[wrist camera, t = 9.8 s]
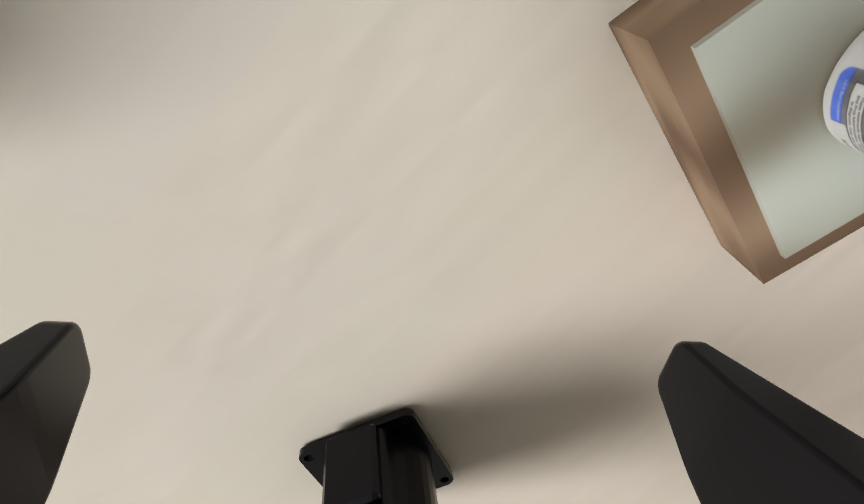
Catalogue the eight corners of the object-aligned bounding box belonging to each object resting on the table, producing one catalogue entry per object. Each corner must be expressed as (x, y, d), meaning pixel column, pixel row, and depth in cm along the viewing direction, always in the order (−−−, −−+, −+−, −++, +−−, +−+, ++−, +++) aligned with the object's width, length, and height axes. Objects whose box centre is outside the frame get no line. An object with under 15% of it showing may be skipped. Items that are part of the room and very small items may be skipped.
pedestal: (994, 79, 22) (1088, 103, 19) (721, 246, 25) (768, 288, 22) (962, -244, 16) (1091, -278, 13) (608, 23, 19) (653, 42, 16)
